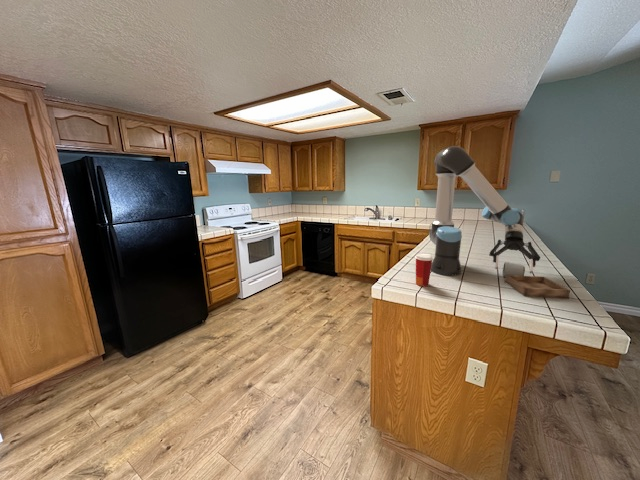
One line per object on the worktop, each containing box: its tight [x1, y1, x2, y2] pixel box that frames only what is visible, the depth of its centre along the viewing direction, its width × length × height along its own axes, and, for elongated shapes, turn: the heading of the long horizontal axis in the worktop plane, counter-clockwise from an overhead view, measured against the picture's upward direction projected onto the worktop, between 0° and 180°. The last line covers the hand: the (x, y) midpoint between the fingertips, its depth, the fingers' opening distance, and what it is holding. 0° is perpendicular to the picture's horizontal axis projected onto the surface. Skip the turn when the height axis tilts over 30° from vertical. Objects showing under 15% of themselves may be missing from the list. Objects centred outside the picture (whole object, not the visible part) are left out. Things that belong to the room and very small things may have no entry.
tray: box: [504, 275, 571, 299], centre depth 112 cm, size 16×16×4 cm
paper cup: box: [414, 253, 434, 287], centre depth 119 cm, size 8×8×14 cm
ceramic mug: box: [501, 261, 526, 278], centre depth 128 cm, size 11×8×8 cm
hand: (513, 270), depth 124 cm, fingers open, 13 cm apart
